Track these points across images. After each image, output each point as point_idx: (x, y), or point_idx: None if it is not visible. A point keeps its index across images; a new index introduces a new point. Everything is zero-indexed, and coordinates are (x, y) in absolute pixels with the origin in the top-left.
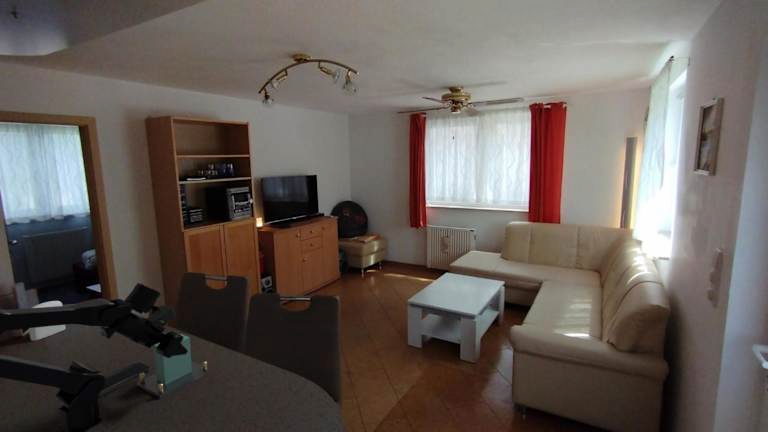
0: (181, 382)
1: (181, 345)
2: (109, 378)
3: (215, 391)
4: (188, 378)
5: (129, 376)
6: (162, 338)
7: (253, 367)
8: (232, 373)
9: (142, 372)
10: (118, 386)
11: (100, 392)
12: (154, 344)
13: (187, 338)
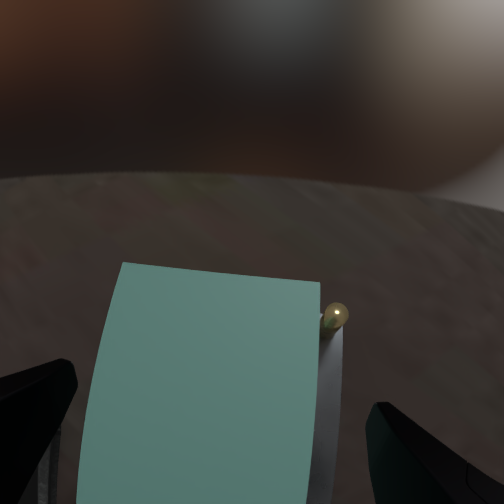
0: (321, 461)
1: (488, 487)
2: None
3: (470, 394)
4: (321, 422)
5: (32, 483)
6: (7, 412)
7: (438, 223)
8: (421, 281)
9: (47, 448)
10: None
11: None
12: (18, 488)
13: (319, 313)
